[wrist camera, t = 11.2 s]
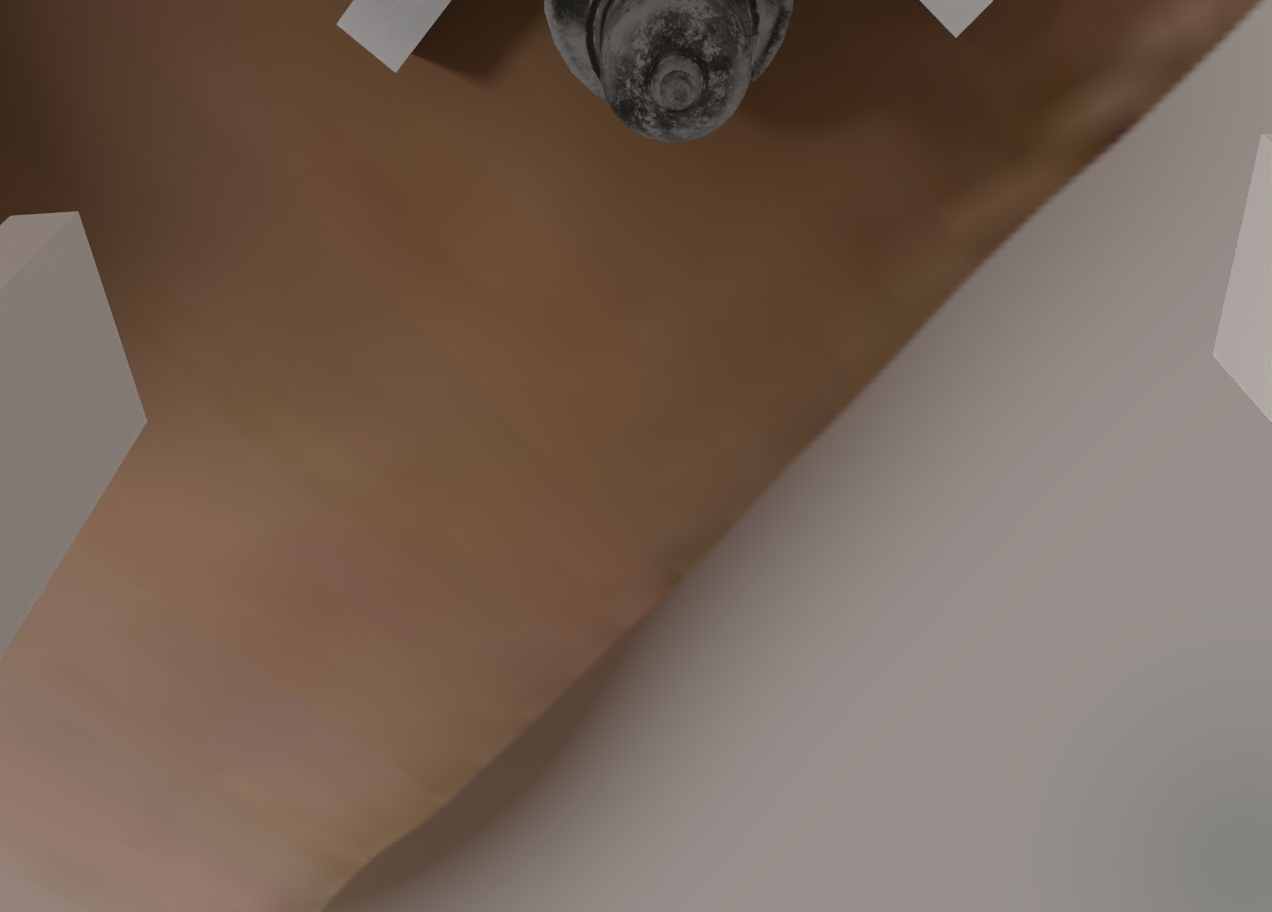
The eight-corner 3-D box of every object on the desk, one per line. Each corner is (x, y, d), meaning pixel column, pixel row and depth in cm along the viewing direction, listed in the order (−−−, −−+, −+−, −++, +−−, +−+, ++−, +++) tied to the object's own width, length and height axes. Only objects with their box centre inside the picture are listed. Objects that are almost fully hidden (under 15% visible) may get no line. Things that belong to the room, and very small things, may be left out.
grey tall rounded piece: (811, 26, 32) (890, 182, 22) (607, 113, 33) (593, 299, 23) (732, -207, 29) (781, -151, 19) (512, -101, 30) (448, 3, 20)
